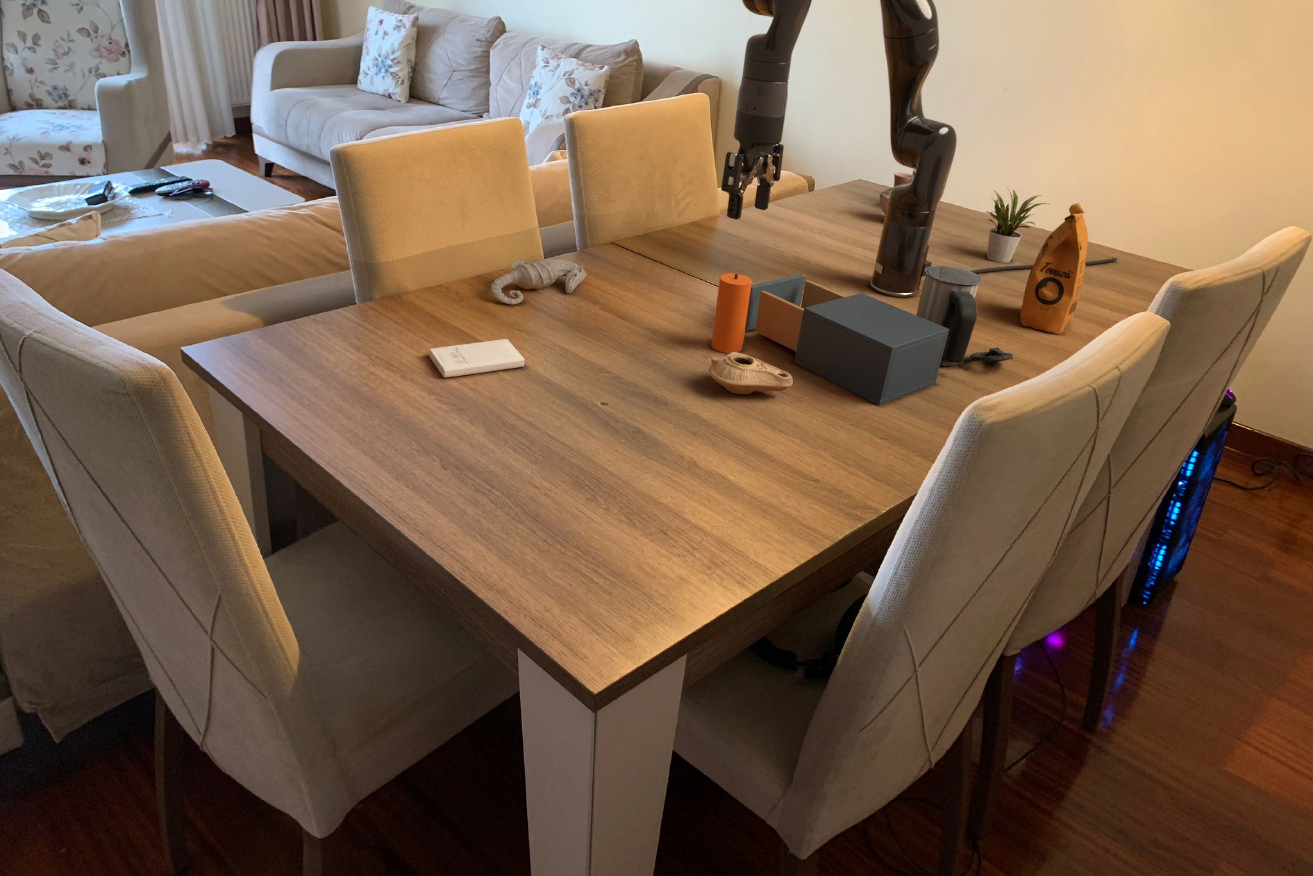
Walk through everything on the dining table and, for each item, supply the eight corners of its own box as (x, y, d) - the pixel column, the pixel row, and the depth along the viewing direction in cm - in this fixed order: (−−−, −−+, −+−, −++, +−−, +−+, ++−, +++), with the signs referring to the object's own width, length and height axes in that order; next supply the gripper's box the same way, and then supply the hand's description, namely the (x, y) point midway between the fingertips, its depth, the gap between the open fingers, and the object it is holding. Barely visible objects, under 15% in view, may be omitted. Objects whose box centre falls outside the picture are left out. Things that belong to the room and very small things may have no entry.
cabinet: (794, 362, 150) (803, 307, 146) (850, 344, 159) (861, 292, 154) (879, 405, 139) (892, 347, 134) (935, 383, 148) (949, 329, 143)
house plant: (1042, 260, 213) (1063, 190, 205) (1029, 274, 203) (1051, 201, 195) (981, 245, 219) (1000, 177, 211) (965, 259, 209) (984, 187, 201)
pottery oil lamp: (786, 409, 134) (772, 373, 130) (713, 411, 141) (697, 377, 136) (801, 369, 140) (788, 333, 135) (730, 373, 146) (715, 339, 142)
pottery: (866, 221, 230) (876, 173, 224) (904, 204, 248) (913, 159, 242) (909, 231, 224) (920, 183, 219) (944, 213, 243) (955, 168, 237)
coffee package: (1009, 324, 174) (1043, 210, 164) (1022, 306, 184) (1054, 197, 173) (1063, 338, 170) (1102, 222, 160) (1073, 319, 180) (1110, 208, 169)
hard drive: (524, 368, 140) (444, 379, 134) (506, 347, 146) (429, 356, 140) (524, 358, 139) (444, 369, 134) (506, 337, 145) (428, 346, 140)
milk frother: (894, 347, 160) (913, 265, 152) (965, 339, 166) (986, 260, 158) (946, 382, 148) (970, 296, 141) (1020, 373, 155) (1046, 290, 147)
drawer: (724, 319, 162) (729, 277, 158) (776, 306, 169) (782, 266, 166) (812, 364, 148) (820, 319, 144) (864, 347, 156) (873, 304, 152)
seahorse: (526, 308, 158) (598, 266, 171) (478, 271, 160) (552, 233, 173) (521, 330, 161) (591, 287, 174) (474, 293, 164) (546, 254, 177)
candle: (727, 338, 157) (736, 266, 150) (748, 349, 153) (759, 276, 147) (704, 344, 154) (713, 271, 147) (726, 355, 150) (736, 281, 144)
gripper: (758, 118, 133) (744, 227, 141) (804, 109, 144) (789, 211, 152) (715, 109, 137) (704, 216, 145) (763, 100, 147) (750, 200, 155)
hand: (747, 213), depth 148 cm, fingers open, 8 cm apart
